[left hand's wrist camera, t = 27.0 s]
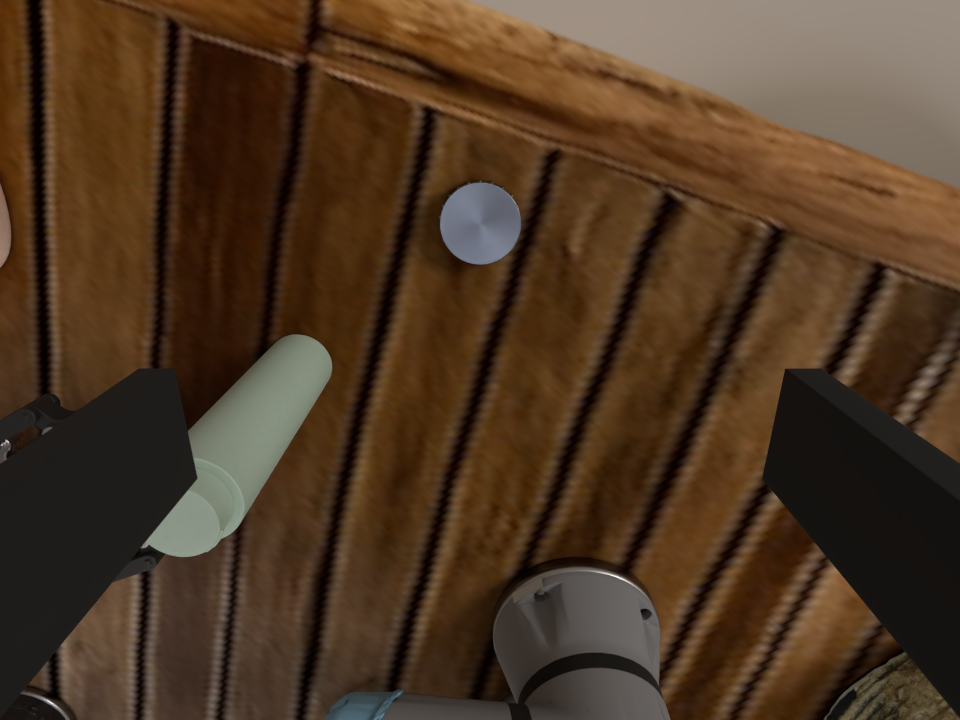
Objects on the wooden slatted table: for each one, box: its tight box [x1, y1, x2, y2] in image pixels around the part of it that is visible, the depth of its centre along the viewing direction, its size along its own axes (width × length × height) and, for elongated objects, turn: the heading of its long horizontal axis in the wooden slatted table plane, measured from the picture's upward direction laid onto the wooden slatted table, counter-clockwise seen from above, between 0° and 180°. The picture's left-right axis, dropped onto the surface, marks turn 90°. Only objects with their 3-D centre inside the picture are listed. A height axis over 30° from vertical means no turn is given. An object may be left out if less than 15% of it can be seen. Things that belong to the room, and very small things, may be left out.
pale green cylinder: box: [146, 335, 332, 557], centre depth 36 cm, size 5×5×20 cm
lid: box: [439, 179, 521, 265], centre depth 40 cm, size 6×6×2 cm
